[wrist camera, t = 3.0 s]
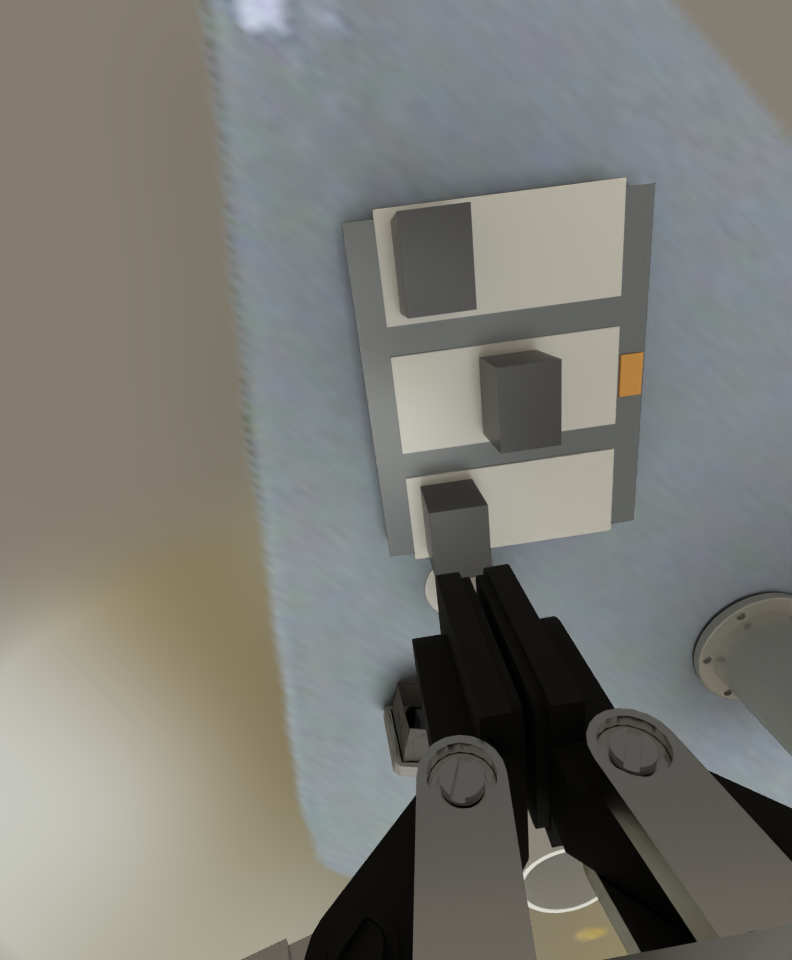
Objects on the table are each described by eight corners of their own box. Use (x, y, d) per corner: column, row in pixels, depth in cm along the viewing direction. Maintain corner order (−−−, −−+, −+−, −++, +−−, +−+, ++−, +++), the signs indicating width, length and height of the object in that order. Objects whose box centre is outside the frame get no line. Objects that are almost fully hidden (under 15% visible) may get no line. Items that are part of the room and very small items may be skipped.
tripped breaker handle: (536, 349, 34) (561, 358, 30) (537, 426, 37) (561, 445, 32) (479, 357, 34) (496, 368, 30) (483, 434, 36) (500, 453, 32)
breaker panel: (631, 182, 34) (708, 155, 27) (615, 510, 44) (669, 556, 36) (341, 219, 34) (338, 202, 26) (388, 543, 43) (395, 598, 36)
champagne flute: (459, 540, 44) (571, 811, 21) (513, 580, 46) (667, 866, 23) (409, 593, 45) (465, 896, 23) (463, 629, 47) (563, 941, 25)
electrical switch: (381, 711, 50) (390, 792, 41) (390, 667, 49) (400, 741, 40) (471, 717, 51) (498, 797, 43) (482, 674, 50) (512, 748, 41)
